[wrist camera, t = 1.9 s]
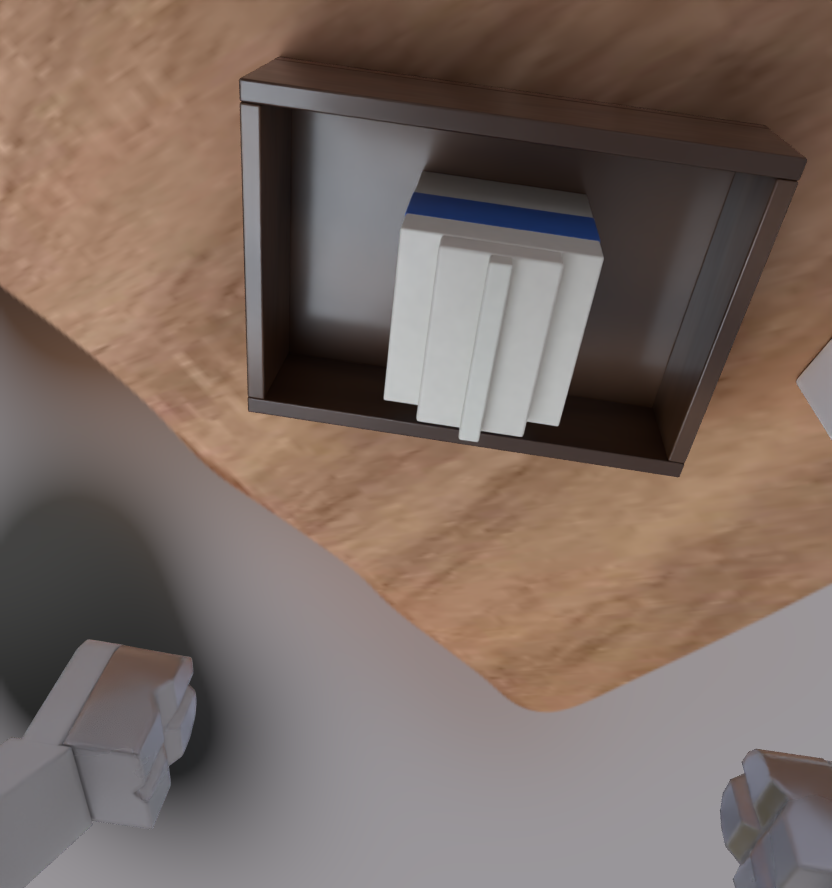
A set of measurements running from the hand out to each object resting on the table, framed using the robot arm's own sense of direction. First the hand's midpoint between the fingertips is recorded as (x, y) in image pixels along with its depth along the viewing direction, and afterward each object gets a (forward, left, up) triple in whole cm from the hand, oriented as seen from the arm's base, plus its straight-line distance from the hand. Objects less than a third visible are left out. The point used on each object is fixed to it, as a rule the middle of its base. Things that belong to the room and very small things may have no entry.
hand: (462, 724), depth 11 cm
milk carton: (0, 0, -18) cm, 18 cm away
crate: (0, 0, -19) cm, 19 cm away
